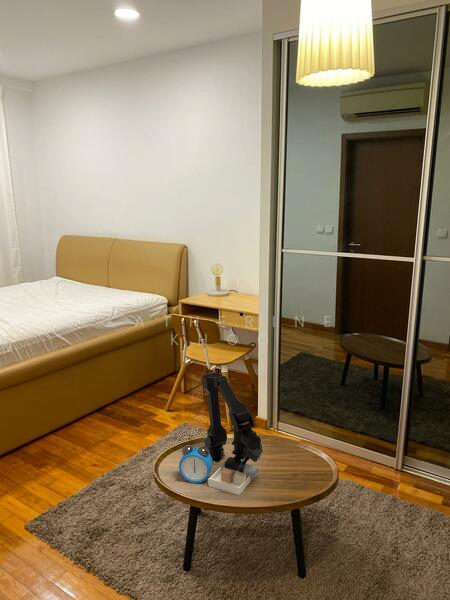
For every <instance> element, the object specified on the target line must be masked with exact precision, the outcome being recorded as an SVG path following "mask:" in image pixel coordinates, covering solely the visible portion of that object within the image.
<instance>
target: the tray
mask: <svg viewBox="0 0 450 600" xmlns="http://www.w3.org/2000/svg"><path fill="white" fill-rule="evenodd" d="M221 467H222V466H220V467H219V468H217V469H216V471H215V472H214V473H213V474H212V475H211V476H210V477H208V478H207V483H208V484H207V485H208V487H210V488H213V489H215V490H218V491H222V492H226V493H229V494H231V495H232V494H233V495H235V496H241V494H242V493H243V492H244V491H245V490H246V488H247V487H248V486H249V484H250V483H251V482H250V476H248V477H247V478H246V479H245V480H244V482H243V483H242V484H241V485H238V484H235V482H234V476H233V481H232V482H231V483H226V482H223V481H221Z"/></svg>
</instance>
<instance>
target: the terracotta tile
mask: <svg viewBox="0 0 450 600" xmlns="http://www.w3.org/2000/svg"><path fill="white" fill-rule="evenodd" d="M221 481H223V482H226V483H231V482H232V481H233V471H230V470H227V469H223V470H222V471H221Z"/></svg>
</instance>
